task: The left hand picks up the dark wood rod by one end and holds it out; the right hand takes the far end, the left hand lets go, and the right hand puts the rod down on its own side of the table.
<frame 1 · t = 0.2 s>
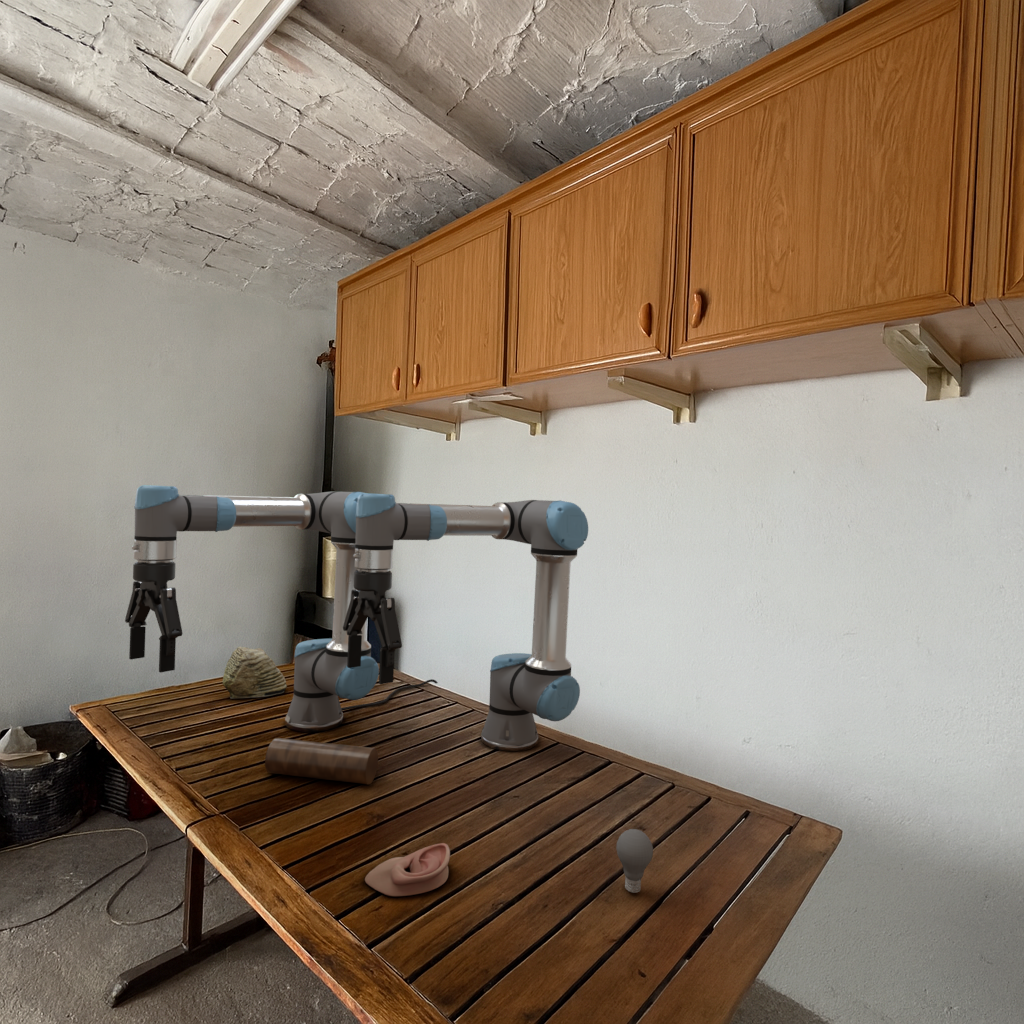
left hand: (151, 664, 130), 28 cm above the table, tool pointing down, fingers open, 13 cm apart
right hand: (369, 674, 128), 28 cm above the table, tool pointing down, fingers open, 13 cm apart
fossil: (254, 694, 198), on the table
rod: (321, 777, 143), on the table
anatomical model: (408, 878, 107), on the table
light bulb: (632, 891, 106), on the table
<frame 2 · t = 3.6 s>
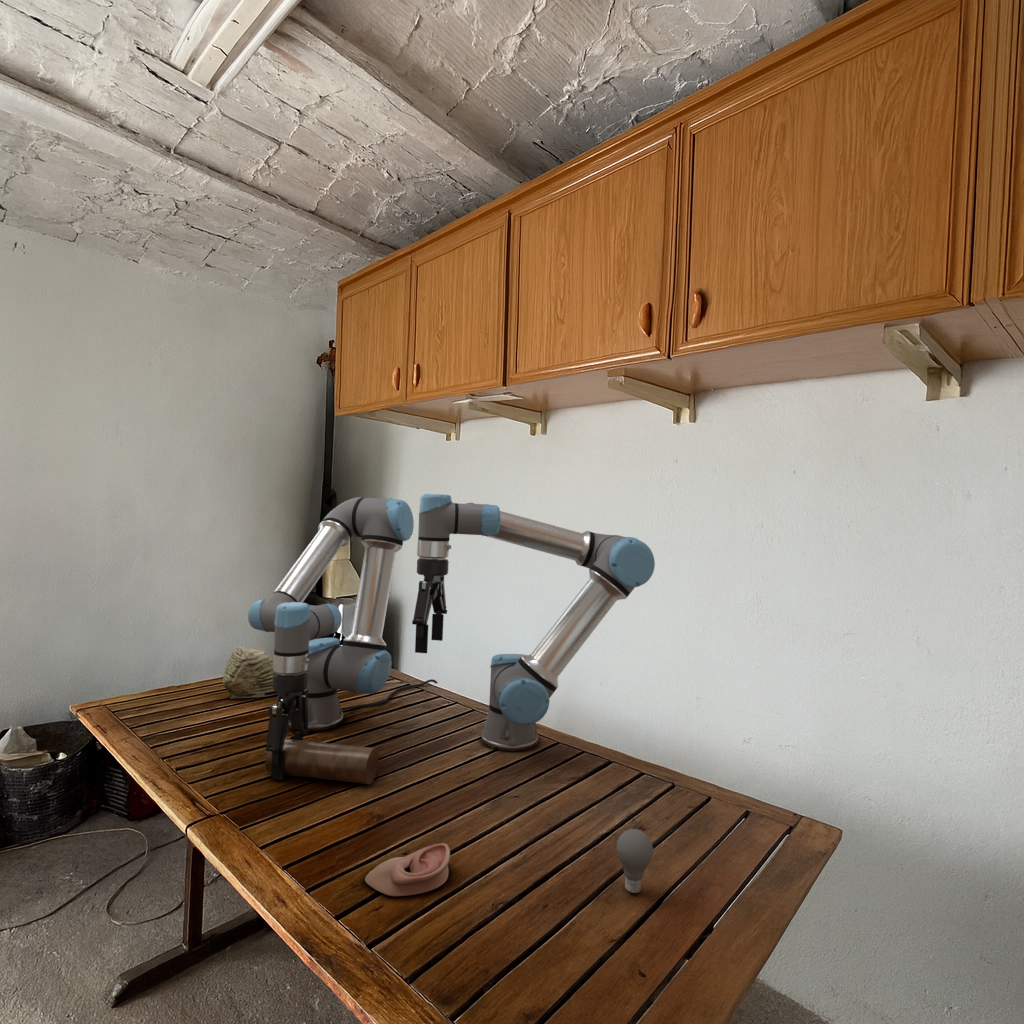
left hand: (286, 771, 144), 0 cm above the table, tool pointing down, fingers closed on rod, 8 cm apart
right hand: (429, 646, 152), 28 cm above the table, tool pointing down, fingers open, 13 cm apart
rod: (321, 777, 143), on the table, touching left hand
everything else where it was.
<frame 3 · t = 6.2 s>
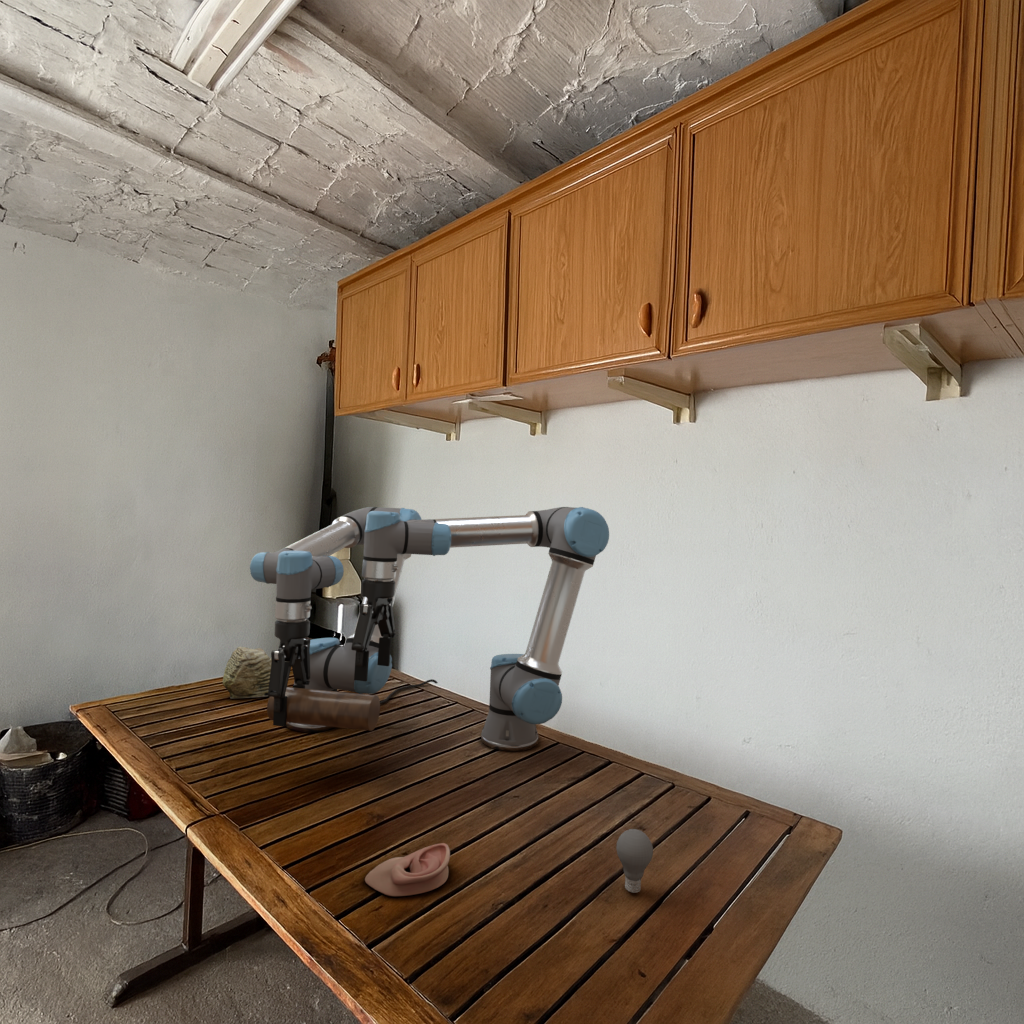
left hand: (288, 718, 144), 12 cm above the table, tool pointing down, fingers closed on rod, 8 cm apart
right hand: (372, 672, 143), 24 cm above the table, tool pointing down, fingers open, 13 cm apart
rod: (323, 724, 143), point 12 cm above the table, touching left hand
everything else where it was.
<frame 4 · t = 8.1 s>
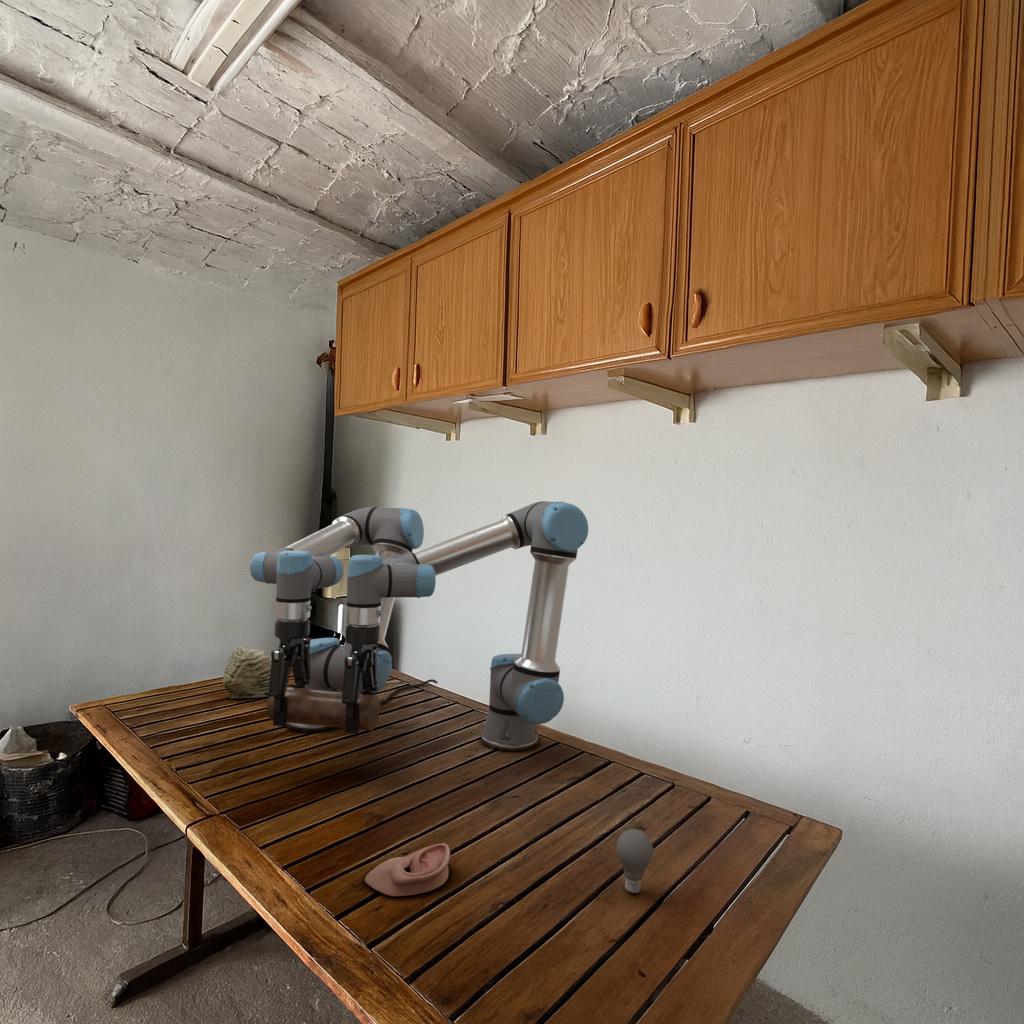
left hand: (289, 718, 144), 12 cm above the table, tool pointing down, fingers closed on rod, 8 cm apart
right hand: (359, 726, 142), 12 cm above the table, tool pointing down, fingers closed on rod, 8 cm apart
rod: (323, 724, 143), point 12 cm above the table, touching left hand, right hand
everything else where it was.
when the left hand's fingers open (12 cm above the table, at t = 9.1 s): rod stays where it is, held by the right hand.
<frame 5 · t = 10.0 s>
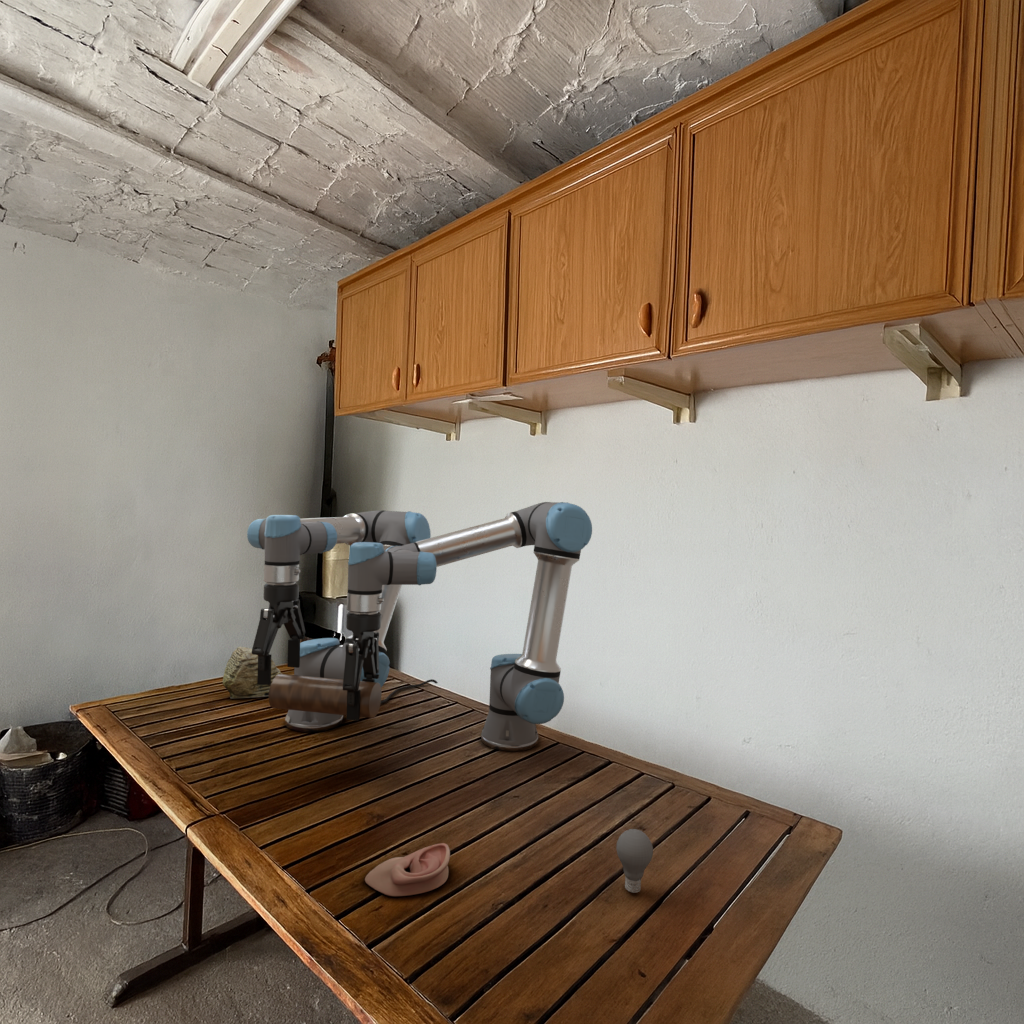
left hand: (279, 675, 145), 22 cm above the table, tool pointing down, fingers open, 13 cm apart
right hand: (360, 713, 141), 15 cm above the table, tool pointing down, fingers closed on rod, 8 cm apart
rod: (325, 712, 143), point 15 cm above the table, touching right hand
everything else where it was.
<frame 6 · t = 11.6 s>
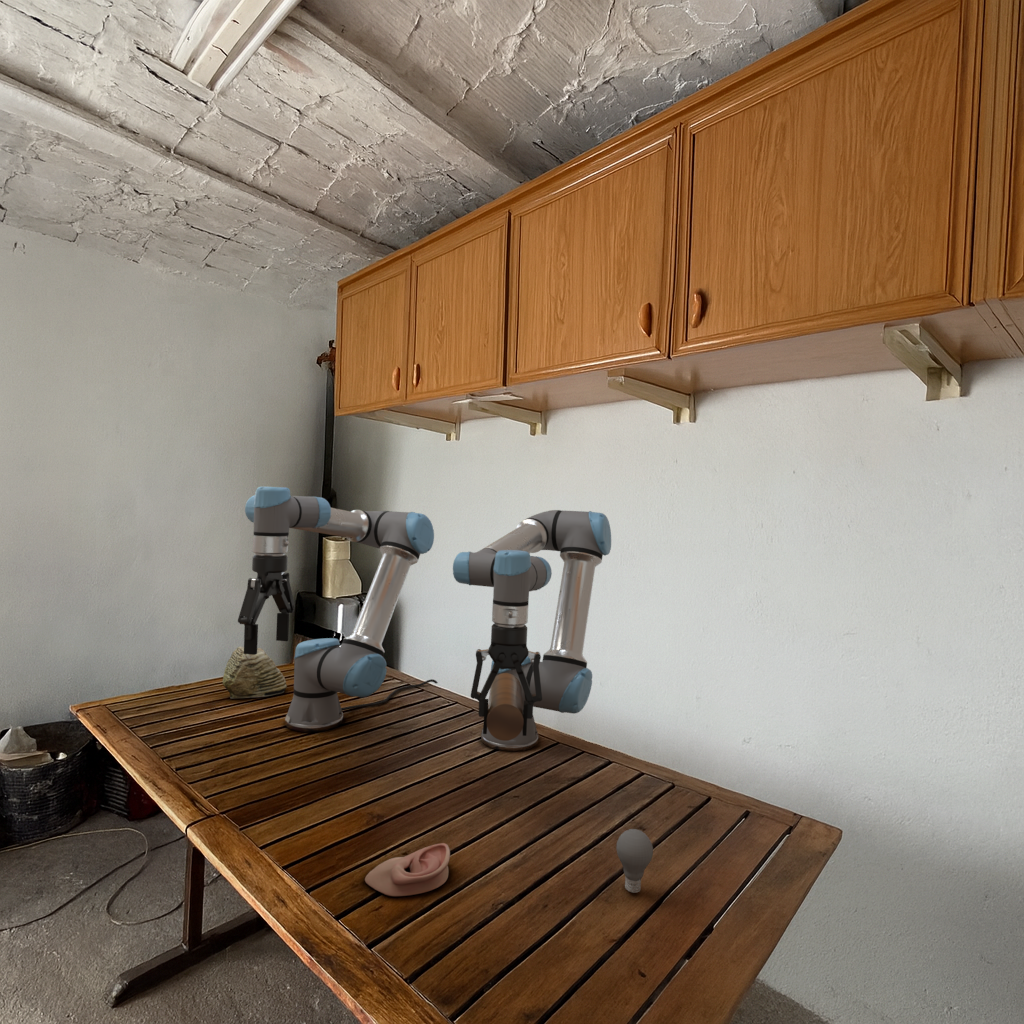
left hand: (267, 647, 145), 28 cm above the table, tool pointing down, fingers open, 13 cm apart
right hand: (504, 732, 133), 16 cm above the table, tool pointing down, fingers closed on rod, 8 cm apart
rod: (504, 720, 141), point 15 cm above the table, touching right hand
everything else where it was.
when the right hand's fingers open (2 cm above the table, at t = 15.2 s): rod drops 1 cm, on the table.
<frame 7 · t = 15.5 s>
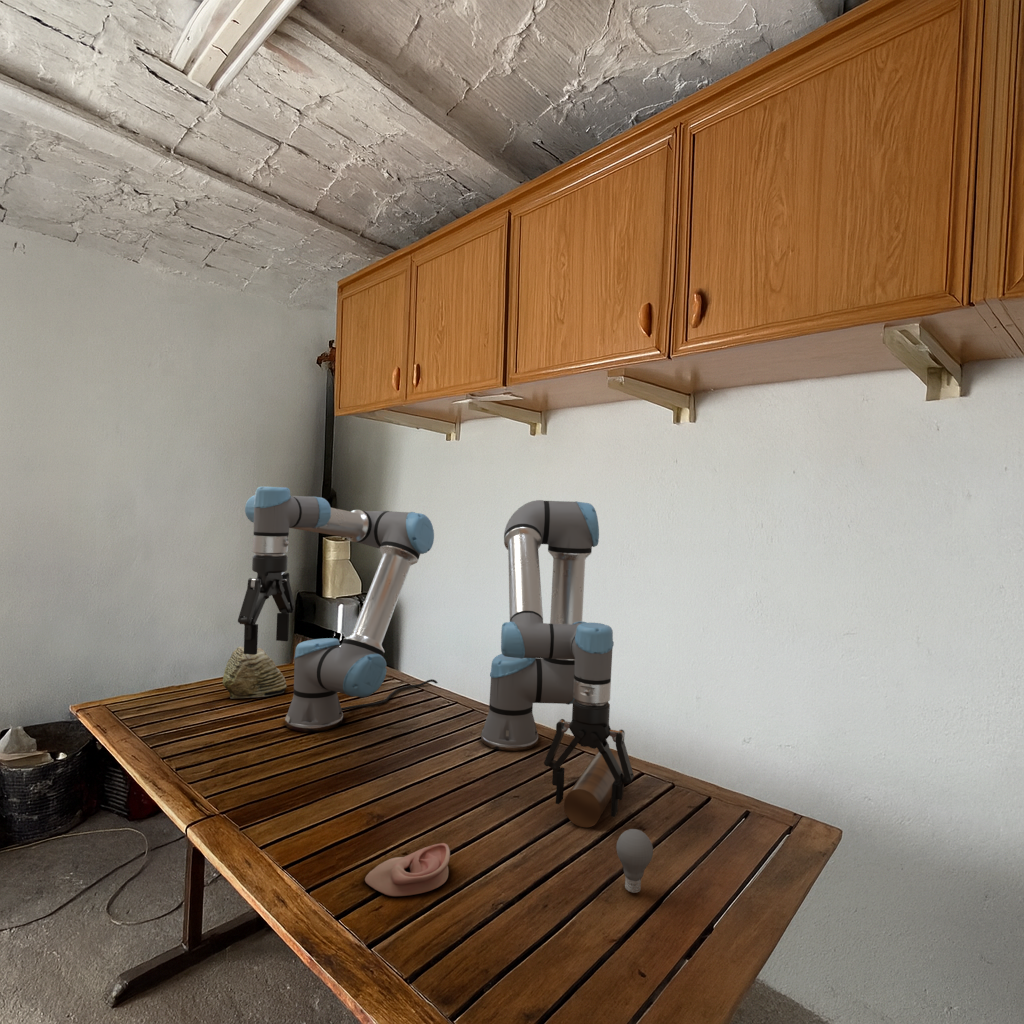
left hand: (267, 647, 145), 28 cm above the table, tool pointing down, fingers open, 13 cm apart
right hand: (586, 807, 129), 2 cm above the table, tool pointing down, fingers open, 11 cm apart
rod: (596, 801, 137), on the table
everything else where it was.
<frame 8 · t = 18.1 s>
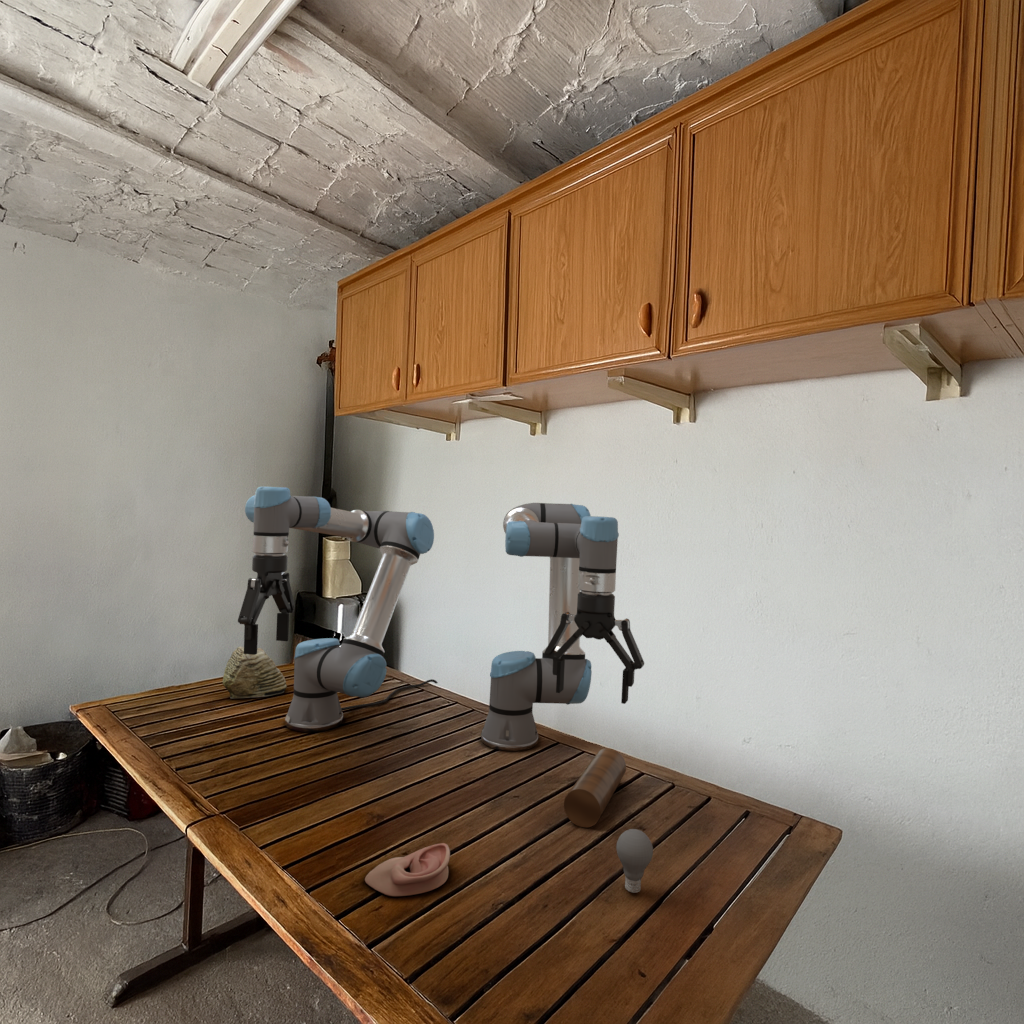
left hand: (267, 647, 145), 28 cm above the table, tool pointing down, fingers open, 13 cm apart
right hand: (591, 696, 129), 25 cm above the table, tool pointing down, fingers open, 13 cm apart
nothing on the table moved.
at the end: rod inside the target area (8.3 cm from its centre), on the table; the left hand is holding nothing; the right hand is holding nothing; rod at rest at the end (0.0 cm/s) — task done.
